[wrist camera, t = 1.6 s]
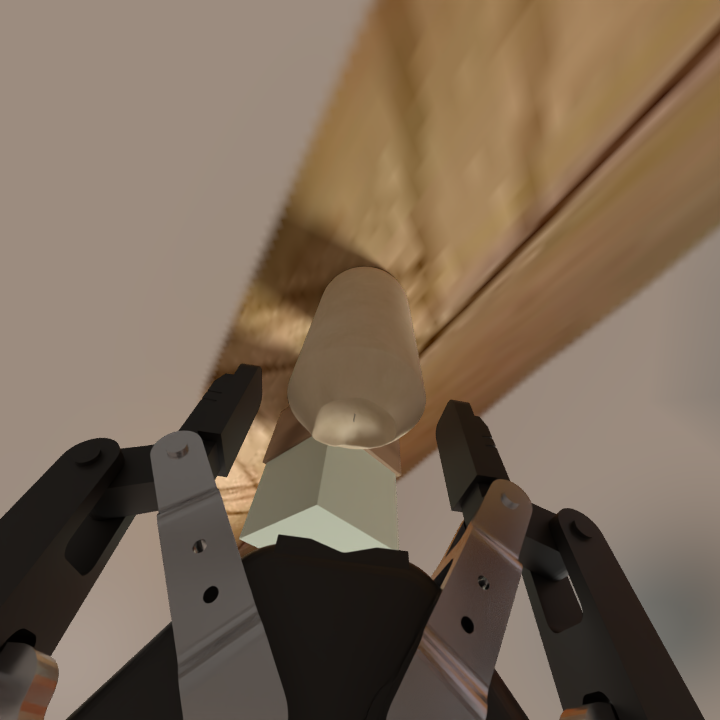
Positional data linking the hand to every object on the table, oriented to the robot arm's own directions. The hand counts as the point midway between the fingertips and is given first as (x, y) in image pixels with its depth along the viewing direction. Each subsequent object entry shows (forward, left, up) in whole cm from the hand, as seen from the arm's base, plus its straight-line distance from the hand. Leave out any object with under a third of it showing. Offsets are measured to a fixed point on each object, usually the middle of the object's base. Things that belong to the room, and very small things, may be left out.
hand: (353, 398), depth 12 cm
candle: (0, 0, -8) cm, 8 cm away
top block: (+8, +6, -3) cm, 10 cm away
